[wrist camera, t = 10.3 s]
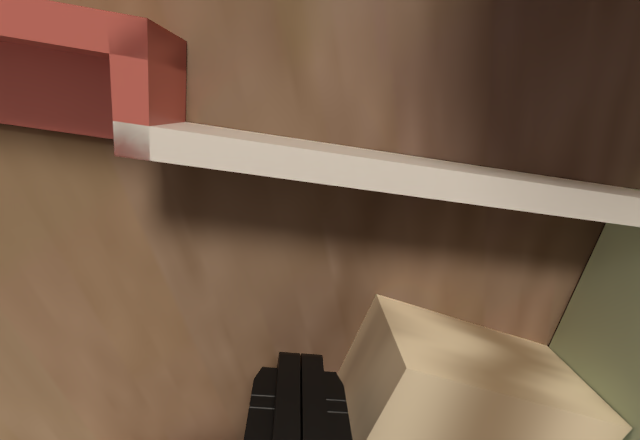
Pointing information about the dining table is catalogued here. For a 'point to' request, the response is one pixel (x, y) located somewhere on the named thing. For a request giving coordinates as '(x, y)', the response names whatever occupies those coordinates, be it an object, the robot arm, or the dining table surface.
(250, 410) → the robot arm
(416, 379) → the birch block
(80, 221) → the dining table surface
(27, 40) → the trap lane
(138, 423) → the dining table surface
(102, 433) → the dining table surface
